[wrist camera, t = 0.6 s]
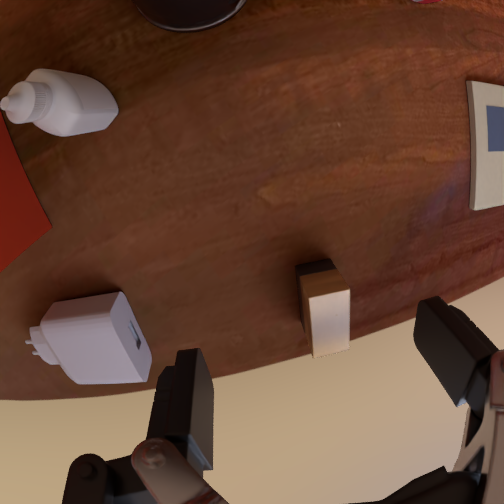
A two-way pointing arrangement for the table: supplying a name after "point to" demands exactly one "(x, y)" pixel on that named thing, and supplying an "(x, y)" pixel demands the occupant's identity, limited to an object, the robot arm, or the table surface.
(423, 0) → the soda can
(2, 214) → the file binder
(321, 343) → the eraser
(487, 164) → the board
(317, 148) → the table surface
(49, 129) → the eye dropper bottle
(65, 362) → the charger
